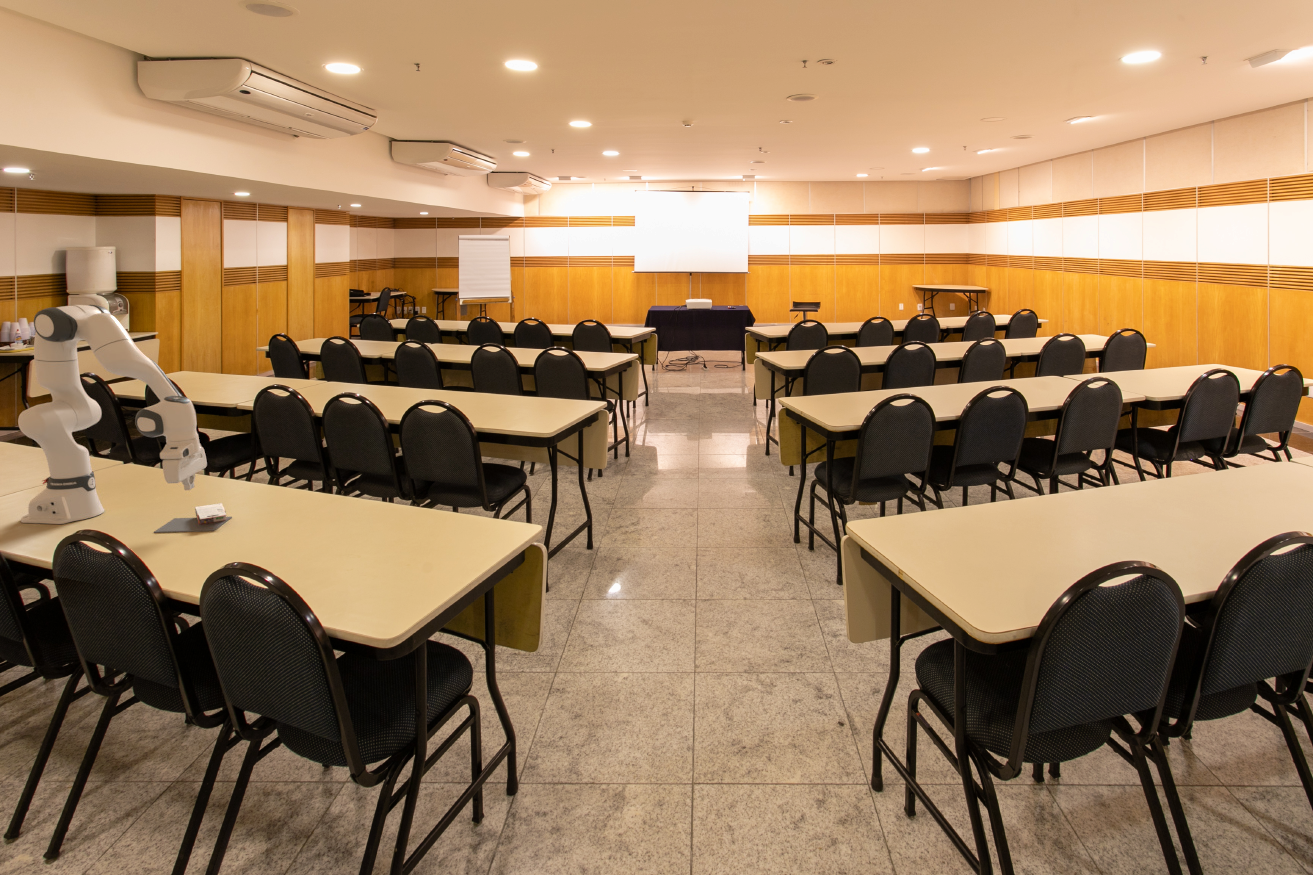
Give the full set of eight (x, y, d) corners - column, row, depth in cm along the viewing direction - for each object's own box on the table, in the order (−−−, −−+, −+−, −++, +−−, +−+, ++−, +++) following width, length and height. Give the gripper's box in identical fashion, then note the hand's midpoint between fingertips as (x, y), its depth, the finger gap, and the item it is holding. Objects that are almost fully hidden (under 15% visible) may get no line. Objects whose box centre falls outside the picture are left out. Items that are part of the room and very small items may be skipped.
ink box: (222, 512, 259) (228, 525, 247) (195, 516, 254) (200, 529, 243) (221, 502, 258) (227, 514, 246) (194, 506, 253) (198, 518, 242)
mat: (153, 532, 240) (153, 531, 240) (174, 519, 253) (174, 518, 253) (214, 531, 242) (214, 529, 242) (231, 517, 255) (231, 516, 255)
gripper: (189, 439, 252) (194, 480, 255) (156, 455, 232) (163, 498, 235) (209, 439, 252) (214, 479, 255) (178, 454, 232) (184, 498, 236)
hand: (189, 489), depth 245 cm, fingers closed
